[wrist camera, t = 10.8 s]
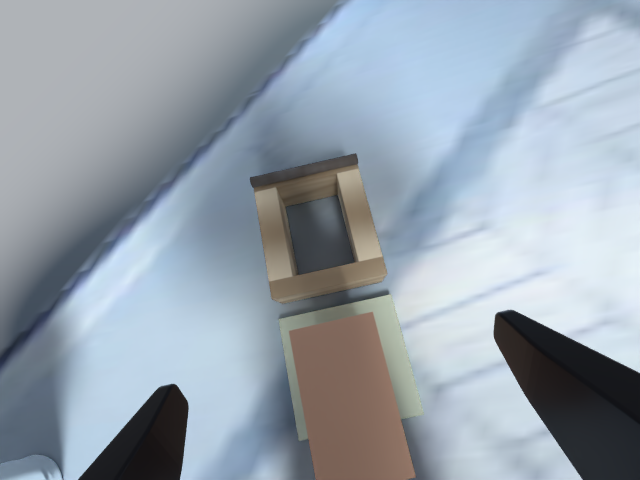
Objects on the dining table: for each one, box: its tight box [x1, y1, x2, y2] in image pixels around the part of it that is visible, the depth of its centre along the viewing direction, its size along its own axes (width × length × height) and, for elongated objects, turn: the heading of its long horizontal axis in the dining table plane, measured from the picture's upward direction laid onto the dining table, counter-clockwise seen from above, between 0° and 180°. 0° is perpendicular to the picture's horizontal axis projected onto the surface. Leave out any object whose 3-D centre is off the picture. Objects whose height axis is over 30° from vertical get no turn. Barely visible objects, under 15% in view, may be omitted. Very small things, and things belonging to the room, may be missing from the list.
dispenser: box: [250, 153, 387, 304], centre depth 22 cm, size 8×7×4 cm
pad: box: [279, 294, 424, 441], centre depth 21 cm, size 8×8×1 cm
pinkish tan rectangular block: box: [289, 312, 416, 480], centre depth 16 cm, size 5×3×11 cm, turn 12°
